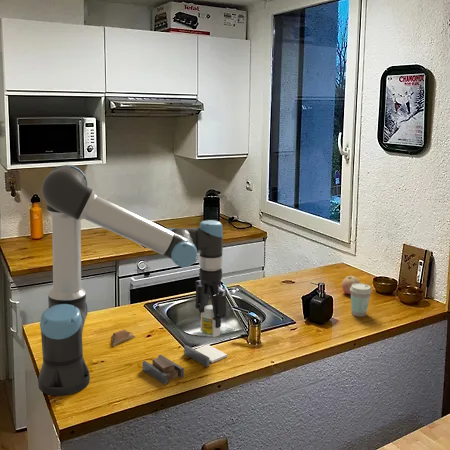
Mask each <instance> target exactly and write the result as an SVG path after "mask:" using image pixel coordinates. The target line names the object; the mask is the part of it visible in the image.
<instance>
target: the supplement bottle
mask: <svg viewBox="0 0 450 450" xmlns="http://www.w3.org/2000/svg"><path fill="white" fill-rule="evenodd" d="M204 311H205V312H204V313H203V314H202V331H201V332H202V335H203V336H206V337H212V321H213V318H214V312H213V306H212V304H209V305H206V306H205V307H204Z"/></svg>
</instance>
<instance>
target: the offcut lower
mask: <svg viewBox="0 0 450 450" xmlns="http://www.w3.org/2000/svg"><path fill="white" fill-rule="evenodd" d="M150 364H151V365H153V363H150ZM165 374H167V375H168V382H169V381H171V380H174V379H176V378H178V377H179V376H178V370H176V369H175V368H174V371H172V372H168V373H165Z"/></svg>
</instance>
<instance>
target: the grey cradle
mask: <svg viewBox="0 0 450 450" xmlns="http://www.w3.org/2000/svg"><path fill="white" fill-rule="evenodd" d="M183 354H184V356H187V357H189V358H191V359H192V360H194V361H196V362H197V363H199V364H201V365H202V366H205V367H206V368H208V367H210V362H209V359H210V358H209V357H207V356H205V355H204V354H202V353H200V352H198V351H196V350H195V349H194V348H193V347H191V346H189V345H187V344H186V345H184V346H183ZM162 356H163V355H162V354H159V355H158V357H157V358H159V357H162ZM164 357H165V356H164ZM165 358H166V359H168V360H169V361H170V362H171V363H173V364H174V368H175V369H176V370H178V377H179V378H180V379H181V378H184V376H185V375H184V374H185V373H184V372H185V369H184V367H182V366H181V365H179V364H177V363H176V362H174V361H172V360H170V359H169V358H168V357H165ZM151 364H152V363H150V362H148V361H146V360H143V361H142V363H141V365H142V371H143V372H145V373H146V374H148V375H149V376H151V377H153V378H154V379H156V380H157V381H158V382H160V383H161V384H163V385H164V386H165V385H168V383H169V381H168V375H167V374H165V373H164V372H162V371H161V370H159V369H157V368H156V367H154V366H153V365H151Z"/></svg>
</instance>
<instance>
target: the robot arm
mask: <svg viewBox="0 0 450 450" xmlns="http://www.w3.org/2000/svg"><path fill="white" fill-rule="evenodd" d="M41 196H42V198H43V200H44V201H45V204H46V211H47V212H48V213H49V214H50V215H51V228H52V229H51V231H52V232H51V236H52V238H51V239H52V288H51V289H50V291H48V294H47V295H48V296H47V297H48V299H47V300H48V305H47V306H48V308H46V309H45V310H44V311H43V312H42V313H41V315H40V322H39V327H40V336H41V350H42V365H41V367H40V372H39V375H38V377H37V378H38V379H37V383H38V389H39V390H40V391H41V392H42V393H43V394H46V395H48V396H49V395H50V396H56V397H58V396H59V397H60V396H68V395H71V394H72V395H73V394H75V393H79V392H81V391H82V390H84V389H85V388H86V387H87V386H88V385H89V384H90V381H91V377H90V375H91V374H90V369H89V368H88V366H87V364H86V361H85V358H84V354H83V353H84V352H83V351H84V349H83V331H84V325H85V323H86V319H87V317H88V310H89V309H88V304H87V292H86V290H85V289H84V288H83V287H82V230H81V229H82V222H81V221H82V220H86V221H89V222H90V223H92V224H95V225H97V226H99V227H101V228H103V229H105V230H108V231H110V232H112V233H114V234H116V235H119V236H120V237H123V238H124V239H128V240H129V241H131V242H134V243H135V244H138V245H140V246H142V247H145V248H146V249H149V250H150V251H151V250H152V251H153V252H156V253H158V254H159V255H162V256H164V257H166V258H168V259H170V260H172V262H173V263H175V265H176V266H178V267H180V268H189V267H190V266H192V265H194V264H195V262H196V260H197V258H198V257H197V256H198V252H199V258H198V259H199V264H198V265H199V267H200V268H199V276H198V277H199V280H195V282H194V285H195V304H194V305H195V309H196V310H198V312H199V320H200V331H201V332H202V314H203V313H204V312H205V311H204V307H205V306H206V305H208V304H209V300H211V305H212V306H213V312H214V318H213V321H212V336H211V337H213V338H215V337H218V336H221V326H222V319H224V318H226V317H227V300H226V299H227V298H226V297H227V295H228V294H227V293H228V290H227V288H226V289H223V288H222V285H221V280H222V278H223V268H222V267H223V249H224V248H223V247H224V242H223V241H224V240H223V239H224V235H223V234H224V233H223V231H224V230H223V228H224V227H223V224H222V223H221V222H220V221H218V220H214V219H209V220H202V221H200V222H199V226H198V227H185V228H184V227H178V228H177V227H172V228H166V227H163V226H162V225H159V224H158V223H155V222H154V221H151V220H149V219H147V218H145V217H142V216H140V215H138V214H136V213H134V212H132V211H130V210H128V209H126V208H124V207H121V206H119V205H117V204H115V203H113V202H111V201H109V200H107V199H105V198H102V197H101V196H99V195H97V194H96V192H95V190H94V189H92V188H90V187H88V179H87V176H86V175H85V173H84V172H83V171H82V170H81V169H80V168H78V167H77V166H75V165H71V164H64V165H58V166H56V167H54V168H53V169H52V170H51V171H50V173H49V174H48V175H46V177H45V178H44V179H43V182H42V184H41Z"/></svg>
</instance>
